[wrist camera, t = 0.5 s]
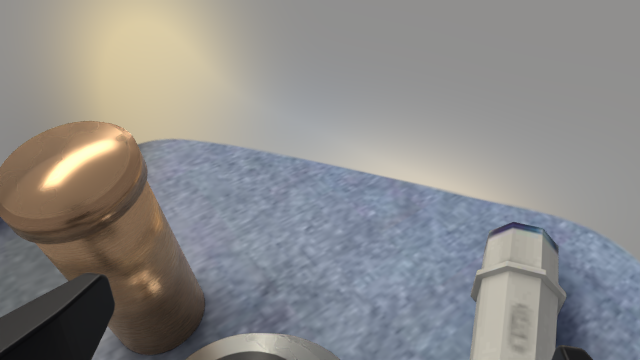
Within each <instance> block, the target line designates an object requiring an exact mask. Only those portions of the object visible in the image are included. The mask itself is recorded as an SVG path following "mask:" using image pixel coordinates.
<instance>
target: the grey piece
mask: <svg viewBox="0 0 640 360" xmlns="http://www.w3.org/2000/svg"><path fill="white" fill-rule="evenodd" d="M471 297H472V298H473V299H474V300H475V301H476V311H475V320H474V328H473V337H472V345H471V354H470V360H551V359H552V357H553V354H554V352H555V345H556V327H557V316H558V314H559V312H560V310H561V308H562V306H563V304H564V301H565V299H566V292H565V291H564V290H563V289H562V288H561V287H560V285H559V284H558V246H557V244H556V243H555V242H554V241H553V240H552V239H551V237H550V236H549V235H548V234H547V233H546V232H545V230H544V229H543V228H539V227H534V226H530V225H525V224H520V223H516V222H512V223H509V224H507V225H504V226H502V227H499V228H496V229H494V230H491V231H490V232H489V235H488V239H487V242H486V246H485V250H484V257H483V263H482V269H481V270H477V273H476V277H475V280H474V284H473V288H472V291H471Z"/></svg>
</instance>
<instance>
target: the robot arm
mask: <svg viewBox="0 0 640 360" xmlns="http://www.w3.org/2000/svg"><path fill="white" fill-rule="evenodd" d="M114 309H115V301H114V297H113V294H112V290H111V286H110V283H109V279H108V277H107V276H106V275H104V274H98V273H92V272H87V273H84V274H82V275H80V276H78V277H76V278H74V279H72V280H70V281H69V282H67V283H65V284H63V285H61V286H59V287H57V288H55V289H53V290H52V291H50V292H48V293H46V294H44V295H42V296H40V297H38V298H36V299H35V300H33V301H31V302H29V303H27V304H25V305H23V306H21V307H19V308H18V309H16V310H14V311H12V312H10V313H8V314H6V315H4V316H3V317H1V318H0V360H91V359H92V357H93V355H94V353H95V351H96V349H97V347H98V345H99V343H100V340H101V338H102V336H103V334H104V332H105V330H106V328H107V326H108V324H109V322H110V319H111V317H112V315H113V313H114ZM551 360H593V359H592V358H591V357H590V356H589V355H588V354H587V352H586V351H584V350H583V349H581V348H577V347H571V346H564V345H560V346H558V347H557V348H556V350H555V352H554V354H553V357H552V359H551Z"/></svg>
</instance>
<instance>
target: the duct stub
mask: <svg viewBox="0 0 640 360" xmlns="http://www.w3.org/2000/svg"><path fill="white" fill-rule="evenodd" d="M185 360H340V359H339V358H338V357H336V356H335V355H334V354H333V353H331V352H330V351H328V350H326V349H325V348H323V347H321V346H320V345H318V344H315V343H313V342H311V341H308V340H306V339H302V338H299V337H295V336H291V335H284V334H271V333H249V334H240V335H235V336H231V337H226V338H224V339H221V340H218V341H215V342H213V343H211V344H209V345H207V346H205V347H203V348H201V349H200V350H198V351H196V352H195V353H193V354H192V355H190V356H189V357H188V358H186V359H185Z"/></svg>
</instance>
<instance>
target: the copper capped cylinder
mask: <svg viewBox="0 0 640 360" xmlns="http://www.w3.org/2000/svg"><path fill="white" fill-rule="evenodd" d="M0 216H1V217H2V219H3V220H4V221H5V222H6V223H7V224H8V225H9V226H10V228H11V229H12V230H13V231H14V232H15V233H16V234H17V235H19V236H20V237H21V238H23V239H25V240H28V241H30V242H34V243H36V244H37V245H38V247H39V248H40V249H41V250H42V251H43V252H44V254H45V255H46V256H47V257H48V258H49V259H50V260H51V262H52V263H53V264H54V265H55V266H56V267H57V268H58V270H59V271H60V272H61V273H62V274H63V275H64V276H65V278H66V279H67V280H68V281H70V280H72V279H74V278H76V277H78V276H80V275H82V274H84V273H87V272H92V273H98V274H104V275H106V276H107V277H108V279H109V283H110V286H111V290H112V294H113V297H114V301H115V309H114V313H113V315H112V317H111V319H110V322H109V324H108V327H109V328H110V329H111V330H112V332H113V333H114V334H115V335H116V336H117V337H118V338H119V340H120V341H121V342H122V343H123V344H124V345H125V346H126V347H127V348H128V349H130V350H132V351H134V352H136V353H139V354H145V355H153V354H159V353H164V352H166V351H169V350H171V349H173V348H175V347H177V346H179V345H180V344H182V343H183V342H184V341H185V340H187V339H188V338H189V337H190V336H191V335H192V333H193V332H194V331H195V330H196V328H197V327H198V325H199V323H200V321H201V319H202V316H203V313H204V307H205V299H204V294H203V292H202V290H201V288H200V286H199V284H198V282H197V280H196V278H195V276H194V274H193V272H192V270H191V268H190V266H189V264H188V262H187V260H186V258H185V256H184V254H183V252H182V250H181V248H180V246H179V244H178V242H177V240H176V238H175V236H174V234H173V232H172V230H171V228H170V226H169V224H168V222H167V220H166V218H165V216H164V214H163V212H162V210H161V208H160V206H159V204H158V202H157V200H156V198H155V196H154V194H153V192H152V190H151V188H150V186H149V184H148V182H147V165H146V162H145V160H144V158H143V156H142V154H141V152H140V149H139V147H138V145H137V143H136V141H135V139H134V138H133V136H132V135H131V134H130V133H129V132H128V131H126V130H125V129H124V128H121V127H119V126H117V125H114V124H110V123H104V122H95V121H81V122H74V123H68V124H65V125H61V126H58V127H55V128H52V129H49V130H47V131H45V132H42V133H40V134H38V135H37V136H35V137H33V138H31V139H30V140H28V141H27V142H25V143H24V144H22V145H21V146H20V147H18V148H17V149H16V150H15V151H14V152H13V153H12V154H11V155H10V156H9V157H8V158H7V159H6V160H5V161H4V163H3V164H2V166H1V167H0Z"/></svg>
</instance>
